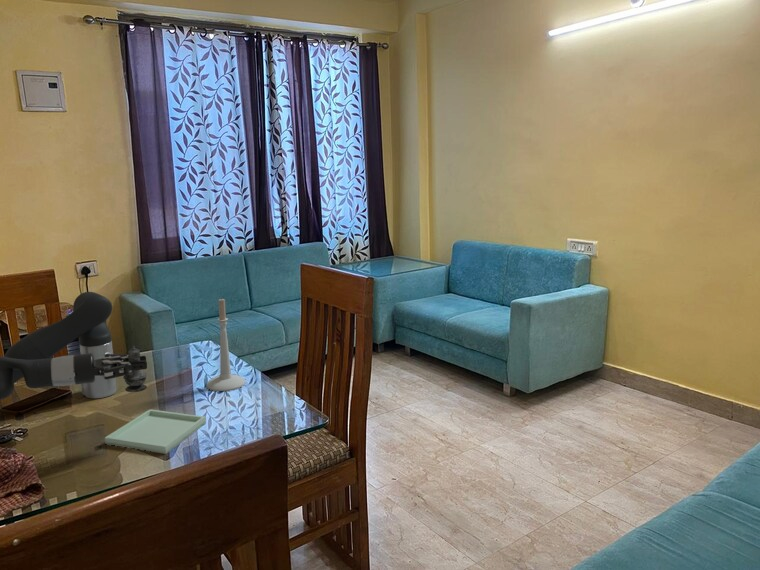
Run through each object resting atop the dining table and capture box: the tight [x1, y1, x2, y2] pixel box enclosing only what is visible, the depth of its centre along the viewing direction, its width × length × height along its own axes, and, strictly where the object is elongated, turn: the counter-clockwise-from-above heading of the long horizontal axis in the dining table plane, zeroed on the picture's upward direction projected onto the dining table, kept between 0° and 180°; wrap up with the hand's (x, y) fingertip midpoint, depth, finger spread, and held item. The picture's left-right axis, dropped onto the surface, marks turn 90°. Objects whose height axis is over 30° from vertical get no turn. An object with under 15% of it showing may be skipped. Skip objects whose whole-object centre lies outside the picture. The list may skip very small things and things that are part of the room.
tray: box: [104, 408, 207, 455], centre depth 157 cm, size 19×19×2 cm
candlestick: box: [206, 297, 247, 392], centre depth 190 cm, size 13×13×30 cm
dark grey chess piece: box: [122, 345, 148, 393], centre depth 151 cm, size 6×6×12 cm
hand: (146, 362), depth 152 cm, fingers closed on dark grey chess piece, 3 cm apart
